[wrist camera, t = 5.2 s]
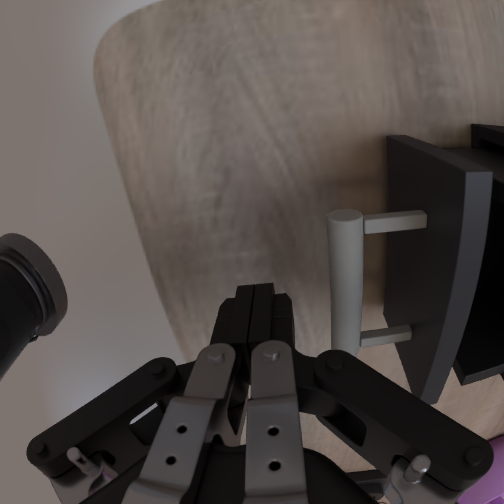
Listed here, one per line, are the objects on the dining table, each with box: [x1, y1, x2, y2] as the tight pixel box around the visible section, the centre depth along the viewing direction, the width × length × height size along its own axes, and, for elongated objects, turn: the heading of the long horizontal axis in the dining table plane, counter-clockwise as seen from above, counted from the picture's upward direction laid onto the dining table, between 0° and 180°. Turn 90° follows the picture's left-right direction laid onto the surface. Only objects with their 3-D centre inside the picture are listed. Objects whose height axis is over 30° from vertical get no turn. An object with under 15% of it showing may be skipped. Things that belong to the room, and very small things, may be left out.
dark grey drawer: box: [326, 135, 504, 405], centre depth 13 cm, size 19×11×8 cm, turn 99°
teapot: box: [457, 436, 504, 504], centre depth 29 cm, size 22×16×12 cm
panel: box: [346, 470, 387, 501], centre depth 34 cm, size 12×9×4 cm
